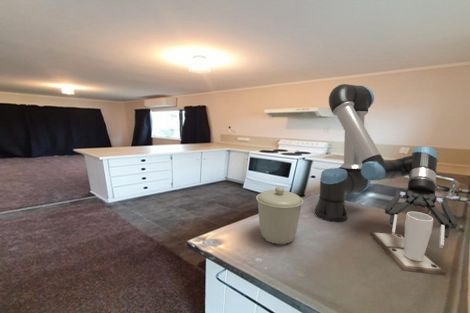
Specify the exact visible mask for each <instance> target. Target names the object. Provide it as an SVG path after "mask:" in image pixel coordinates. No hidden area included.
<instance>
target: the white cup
mask: <svg viewBox="0 0 470 313" xmlns="http://www.w3.org/2000/svg"><path fill="white" fill-rule="evenodd" d="M433 225H434V218H433V216H431V215H429V214H427V213H424V212H419V211H407V213H406V215H405V220H404V235H403V236H404V251H403V253H404V255H405V256H406V257H407V258H409V259H411V260H413V261H422V260H423V259H424V255H425V254H426V251H427V247H428V245H429V241H430V238H431V236H432V232H433V227H434V226H433Z"/></svg>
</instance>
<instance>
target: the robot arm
mask: <svg viewBox="0 0 470 313" xmlns="http://www.w3.org/2000/svg"><path fill="white" fill-rule="evenodd" d="M328 96H329V97H328V106H329V109H330V110H331V113H332V115H333V116H335V117H337V119H338V120H339V123H340V125H341V127H342V128H343V130H344V142H343V143H344V145H343V146H344V148H343V149H344V150H343V163H342V164H341V165H340V166H339V167H340V168H338V167H337V168H336V167H332V168H326V169H323V171H322V172H321V174H320V177H319V178H320V179H319V182H320V184H319V199H318V201H317V203H316V205H315V208H314V215H315V214H316V215H317V216H318V218H319V217H320V218H319V219H321V218H322V219H321V220H325V221H327V220H328V221H327V222H333V221H335V223H340V222H341V221H342V222H345V221H347V220H348V216H349V214H348V211H347V207H346V202H345V201H346V195H348V194H354V193H355V194H356V193H361V192H364V191H366V190H367V189H368V188H369V187H370V185H371V183H372V182H371V181H381V180H389V179H390V180H392V179H397V178H401V177H407V176H408V183H407V190H406V191H405V192H404V191H401V190H400V189H396V193H395V195H394V197H393V198H392V199H391V200H390V202H389V203H388V204H387V206H386V207H385V208H384V214H386V215H389V221H388V222H389V225H391V226H392V229H391V234H392V235H395V234H396V227H397V222H398V214H400V213H401V212H403V211H405V209H407V208H409V207H411V206H412V205H413V207H420V208H422V209H423V208H424V209H427V210H428V211H429V212H430V213H431V214H432V215H433V216H434V218H435V219H436V221H437V222H438V223H439V224H440V226H439V239H438V240H439V241H438V248H439V249H440V248H441V249H443V247H444V246H445V239H448V238H449V236H450V229H452V230H453V229H454V230H456V229H457V227H458V226H459V224H458V221H457V219H456V218H455V216H454V213H453V212H452V210H451V207H450V206H449V204H448V200H449V198H447V197H442V198H441V197H437V196H436V184H437V164H438V161H439V160H438V152H437V151H436V149H434V148H432V147H431V146H430V147H429V146H426V145H425V146H418V147H415V148H414V149H413V150H412V152H411V155H407V156H404V157H401V158H395V159H389V160H388V159H387V160H384V157H383V156H382V154H381V153H380V152H379V150H378V148H377V145H376V144H375V142H374V141H373V139H372V137H371V136H370V134H369V132H368V130H367V129H366V126H365V116H366V115H367V114H368V113H369V108H371V107H372V105H373V104H374V101H375V95H374V92H373V91H372V89H370V88H369V87H368V86H364V85H355V84H347V83H342V84H340V85H337V86H335V87H334V88H333V89H332V90H331V92H330V93H329V95H328ZM403 197H405V198H406V199H405V201H403V202H402V203H401V204H399V205H398V206H396V205H397V204H398V202H399V201H400V199H402V198H403ZM435 203H438V205H439V206H441V210H442V211H443V214H444V215H443V214H442V213H441V211H440V210H439V209H438V208H437V207H436V205H435ZM395 206H396V207H395ZM393 208H394V209H393ZM316 215H315V216H316ZM317 216H316V217H317ZM444 216H445V217H444Z"/></svg>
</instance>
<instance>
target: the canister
mask: <svg viewBox="0 0 470 313" xmlns="http://www.w3.org/2000/svg"><path fill="white" fill-rule="evenodd" d="M255 199H256V201H257V208H258V209H257V210H258V221H259V230H260V234H261V236H262V238H263V239H264V238H265V239H266V240H265V239H264V240H265V241H267V242H269V243H271V242H272V243H271V244H274V243H276V244H275V245H286V243H288V244H290V243H291V242H293V241H294V239H295V238H296V235H297V230H298V225H299V220H300V214H301V208H302V205H303V204H304V199H303V198H302V197H301V196H300V195H299V194H296V193H294V192H291V191H288V190H285V188H284V187H282V186H276V187H275V189H269V190H265V191H262V192H260V193H258V194H256V197H255ZM289 242H290V243H289Z"/></svg>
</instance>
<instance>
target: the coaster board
mask: <svg viewBox="0 0 470 313" xmlns="http://www.w3.org/2000/svg"><path fill="white" fill-rule="evenodd" d="M369 235H370V236H371V237H372V238H373V239H374V240H375V242H377V244H378V245H379V246H380V247H381V248H382V249H383V250H384V251H385V252H386V253H387V255H388V256H389V257H390V258H391V259H392V260H393V261H394V262H395V264H396V265H397V266H398V267H399V269H401V270H402V271H405V272H415V273H425V274H432V273H435V275H441V274H446V275H447V271H446V270H445V269H444V268H442V266H440V265H439V264H438V263H436V262H435V261H434V260H433V259H431V258H430V256H428V255H427V254H426V253H425V255H424V259H423V260H422V261H413V260H411V259H409V258H407V257H406V256H405V255H404V253H403V251H404V235H403V234H397V233H395V235H392V233H385V232H375V231H374V232H372V231H370V232H369Z"/></svg>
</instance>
